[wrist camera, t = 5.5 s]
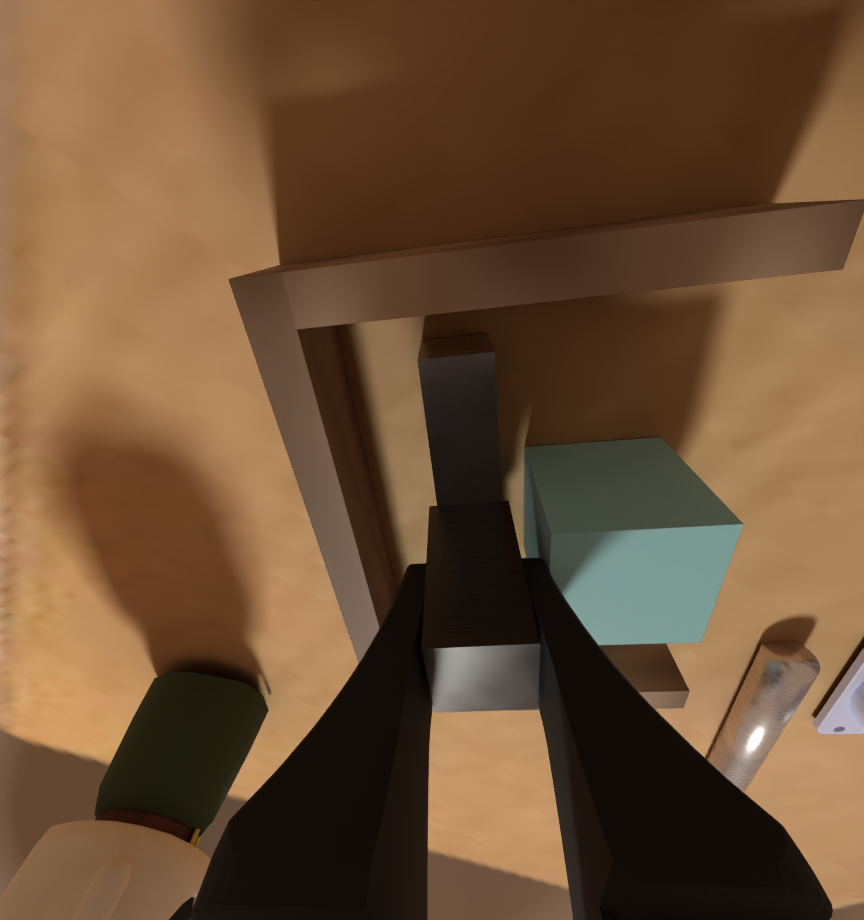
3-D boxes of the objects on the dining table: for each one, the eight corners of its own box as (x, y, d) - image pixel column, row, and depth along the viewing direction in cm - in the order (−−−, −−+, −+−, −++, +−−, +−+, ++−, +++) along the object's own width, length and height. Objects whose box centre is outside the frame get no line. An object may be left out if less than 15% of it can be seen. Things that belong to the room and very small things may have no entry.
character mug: (256, 747, 26) (108, 1140, 15) (141, 716, 25) (-113, 1123, 14) (304, 658, 21) (134, 1159, 10) (163, 613, 20) (-220, 1134, 8)
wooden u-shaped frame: (763, 203, 10) (868, 199, 8) (652, 641, 19) (683, 708, 16) (279, 265, 11) (228, 278, 9) (385, 649, 20) (375, 712, 18)
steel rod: (753, 654, 18) (810, 687, 17) (772, 628, 19) (827, 658, 18) (696, 777, 24) (733, 809, 23) (712, 753, 25) (749, 783, 24)
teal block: (660, 437, 14) (743, 524, 10) (640, 538, 16) (701, 642, 12) (524, 447, 14) (551, 534, 10) (523, 545, 16) (546, 646, 12)
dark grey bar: (496, 331, 12) (547, 444, 6) (505, 604, 18) (535, 795, 12) (413, 340, 12) (382, 458, 6) (449, 607, 18) (452, 797, 12)
